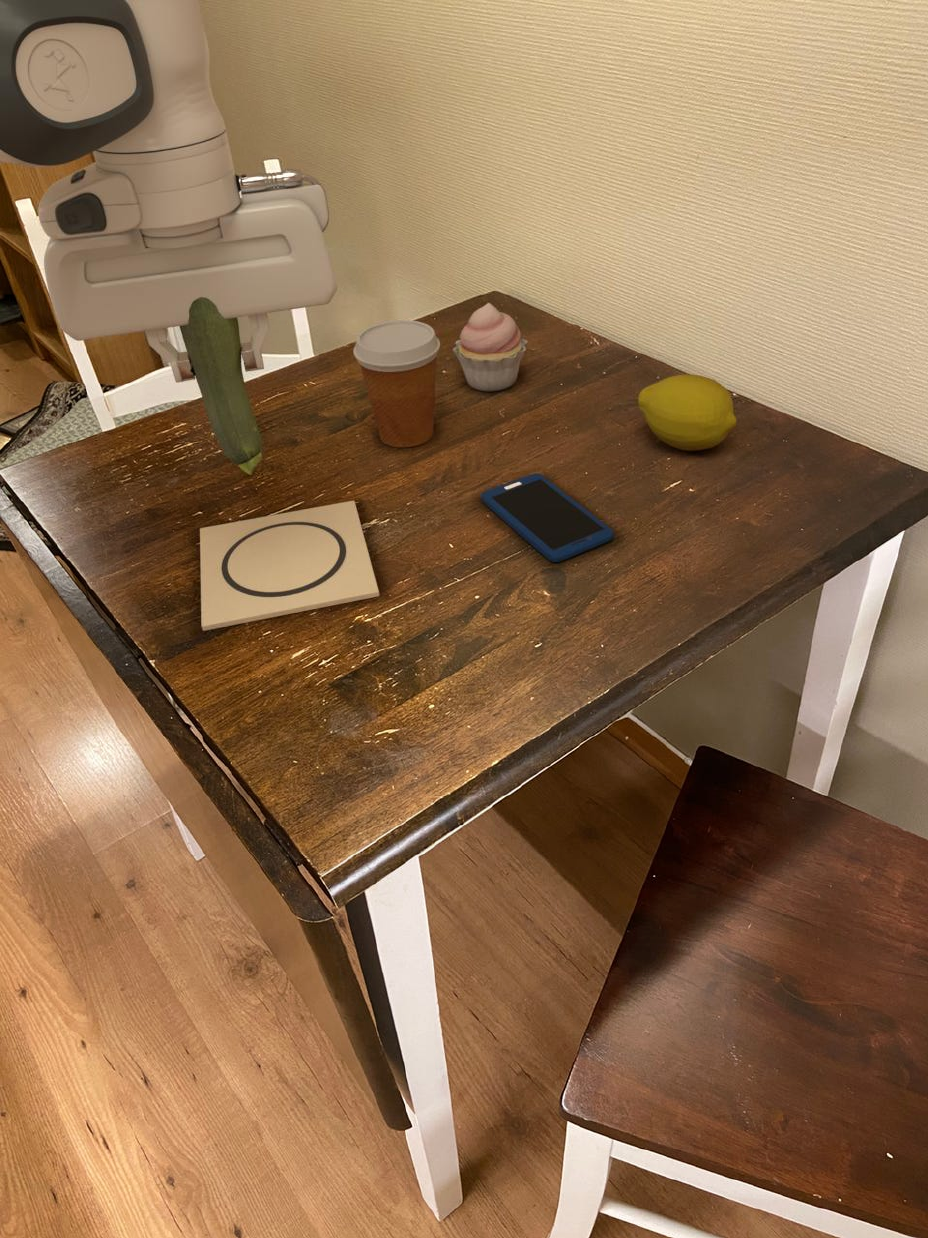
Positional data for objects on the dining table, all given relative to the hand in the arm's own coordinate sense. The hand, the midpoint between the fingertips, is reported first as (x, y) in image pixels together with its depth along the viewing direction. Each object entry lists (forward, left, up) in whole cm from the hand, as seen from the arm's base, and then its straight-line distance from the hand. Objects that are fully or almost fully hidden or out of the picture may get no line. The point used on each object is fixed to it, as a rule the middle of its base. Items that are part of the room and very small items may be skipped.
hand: (220, 373), depth 69 cm
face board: (+1, +3, -21) cm, 21 cm away
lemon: (+46, +11, -21) cm, 52 cm away
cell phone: (+27, +2, -21) cm, 35 cm away
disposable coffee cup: (+17, +24, -21) cm, 36 cm away
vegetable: (0, 0, -9) cm, 9 cm away
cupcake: (+30, +34, -21) cm, 50 cm away
